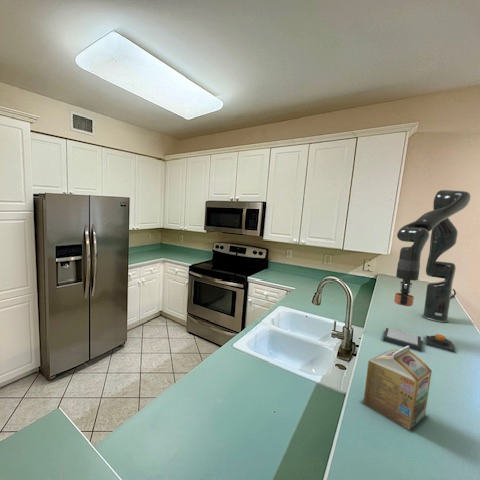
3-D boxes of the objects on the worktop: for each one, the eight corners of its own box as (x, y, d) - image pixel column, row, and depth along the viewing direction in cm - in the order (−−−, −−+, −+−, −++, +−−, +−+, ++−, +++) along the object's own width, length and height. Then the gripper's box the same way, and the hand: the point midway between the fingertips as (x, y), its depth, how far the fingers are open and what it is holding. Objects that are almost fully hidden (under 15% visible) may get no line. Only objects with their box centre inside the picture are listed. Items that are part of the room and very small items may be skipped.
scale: (385, 331, 125) (386, 326, 125) (420, 340, 116) (420, 335, 116) (383, 341, 115) (383, 335, 115) (420, 351, 107) (421, 346, 106)
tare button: (434, 337, 115) (435, 333, 114) (444, 339, 112) (445, 335, 112) (435, 339, 113) (435, 335, 112) (445, 341, 110) (445, 338, 110)
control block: (426, 338, 119) (426, 332, 119) (451, 344, 113) (452, 338, 113) (426, 345, 112) (427, 339, 112) (453, 352, 106) (454, 346, 106)
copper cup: (394, 301, 125) (395, 292, 124) (412, 304, 120) (413, 295, 120) (393, 303, 120) (394, 294, 120) (412, 307, 116) (413, 298, 115)
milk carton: (409, 430, 67) (419, 364, 65) (363, 403, 76) (370, 344, 74) (424, 416, 72) (434, 354, 70) (379, 392, 81) (386, 337, 79)
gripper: (419, 272, 111) (414, 308, 112) (419, 268, 121) (414, 301, 122) (396, 269, 116) (391, 304, 118) (398, 265, 126) (393, 297, 128)
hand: (403, 302), depth 120 cm, fingers closed on copper cup, 6 cm apart
